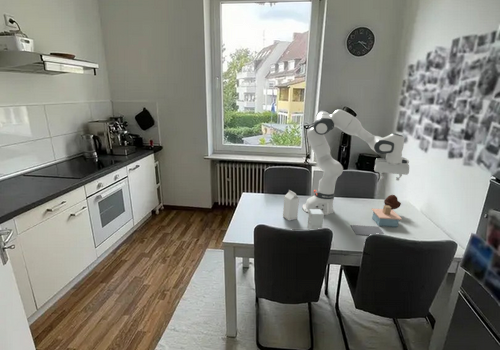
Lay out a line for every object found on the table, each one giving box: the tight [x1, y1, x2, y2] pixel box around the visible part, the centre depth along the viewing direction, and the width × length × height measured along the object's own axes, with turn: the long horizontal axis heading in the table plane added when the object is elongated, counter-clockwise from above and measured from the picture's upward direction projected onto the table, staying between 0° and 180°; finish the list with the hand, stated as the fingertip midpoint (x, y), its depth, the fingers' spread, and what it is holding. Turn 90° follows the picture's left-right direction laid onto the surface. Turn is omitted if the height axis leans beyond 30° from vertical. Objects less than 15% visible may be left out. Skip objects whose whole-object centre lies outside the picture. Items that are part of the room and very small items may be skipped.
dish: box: [371, 212, 400, 228], centre depth 187 cm, size 12×12×6 cm
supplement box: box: [307, 209, 325, 230], centre depth 172 cm, size 7×7×13 cm
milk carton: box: [282, 189, 300, 221], centre depth 186 cm, size 7×7×19 cm
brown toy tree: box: [383, 194, 402, 211], centre depth 200 cm, size 11×11×15 cm
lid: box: [371, 204, 403, 221], centre depth 185 cm, size 14×14×6 cm
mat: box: [350, 224, 385, 237], centre depth 175 cm, size 18×12×1 cm, turn 87°
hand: (389, 179), depth 181 cm, fingers open, 8 cm apart
